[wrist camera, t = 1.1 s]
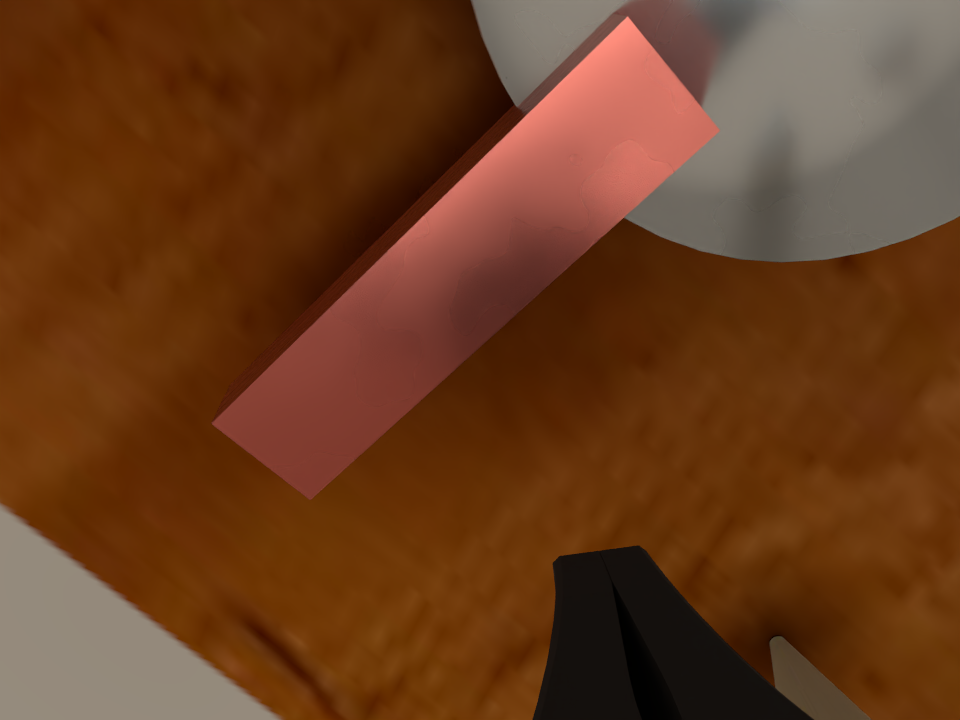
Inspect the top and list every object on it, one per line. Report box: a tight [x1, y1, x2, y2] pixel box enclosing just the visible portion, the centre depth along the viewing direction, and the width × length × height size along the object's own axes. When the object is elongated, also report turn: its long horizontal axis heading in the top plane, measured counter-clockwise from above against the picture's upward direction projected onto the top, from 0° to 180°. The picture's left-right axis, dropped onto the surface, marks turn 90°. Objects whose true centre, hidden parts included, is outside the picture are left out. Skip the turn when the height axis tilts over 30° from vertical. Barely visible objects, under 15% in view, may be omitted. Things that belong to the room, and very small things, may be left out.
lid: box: [211, 0, 960, 500], centre depth 14 cm, size 20×13×2 cm, turn 134°
